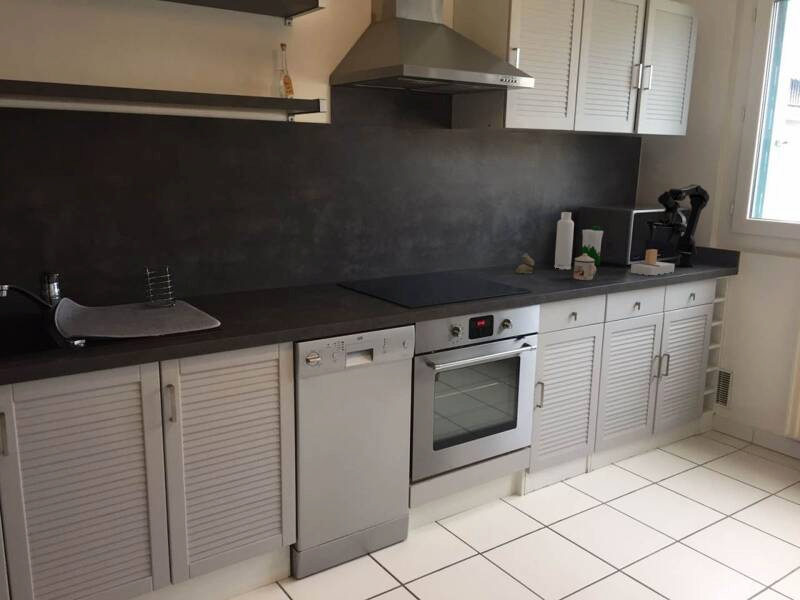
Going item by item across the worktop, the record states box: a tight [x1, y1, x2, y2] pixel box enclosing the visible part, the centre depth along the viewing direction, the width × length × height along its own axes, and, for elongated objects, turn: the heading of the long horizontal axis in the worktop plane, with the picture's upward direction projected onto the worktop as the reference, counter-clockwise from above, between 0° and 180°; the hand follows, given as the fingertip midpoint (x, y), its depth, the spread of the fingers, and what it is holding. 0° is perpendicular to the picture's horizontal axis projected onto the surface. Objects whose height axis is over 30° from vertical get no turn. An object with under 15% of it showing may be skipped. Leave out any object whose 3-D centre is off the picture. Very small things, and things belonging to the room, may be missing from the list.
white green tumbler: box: [581, 225, 604, 266], centre depth 339 cm, size 9×9×20 cm
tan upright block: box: [644, 248, 658, 264], centre depth 320 cm, size 6×2×11 cm, turn 127°
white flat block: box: [630, 260, 676, 276], centre depth 320 cm, size 20×11×4 cm, turn 127°
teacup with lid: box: [573, 253, 597, 281], centre depth 298 cm, size 12×9×12 cm
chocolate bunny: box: [515, 252, 535, 274], centre depth 311 cm, size 6×8×10 cm
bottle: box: [554, 211, 575, 270], centre depth 325 cm, size 8×8×28 cm
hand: (660, 241), depth 319 cm, fingers open, 9 cm apart
